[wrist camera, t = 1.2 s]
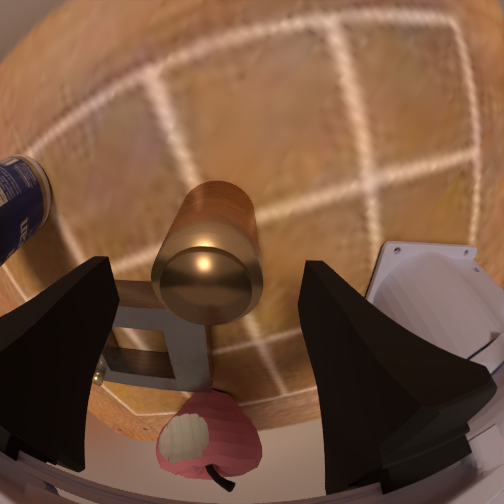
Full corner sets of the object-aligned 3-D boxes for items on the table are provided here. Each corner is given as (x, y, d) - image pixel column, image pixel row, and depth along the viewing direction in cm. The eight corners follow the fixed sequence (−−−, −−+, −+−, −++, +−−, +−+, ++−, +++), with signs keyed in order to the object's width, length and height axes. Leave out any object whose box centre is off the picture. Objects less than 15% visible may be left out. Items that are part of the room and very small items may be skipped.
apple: (237, 365, 22) (240, 480, 13) (271, 406, 26) (279, 492, 17) (146, 382, 23) (129, 476, 14) (192, 419, 27) (187, 495, 19)
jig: (207, 283, 17) (201, 324, 14) (213, 368, 22) (211, 403, 19) (64, 276, 16) (42, 308, 13) (99, 356, 21) (88, 387, 18)
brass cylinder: (256, 181, 14) (268, 242, 8) (252, 249, 16) (260, 333, 10) (179, 180, 14) (139, 240, 8) (183, 247, 16) (158, 329, 10)
